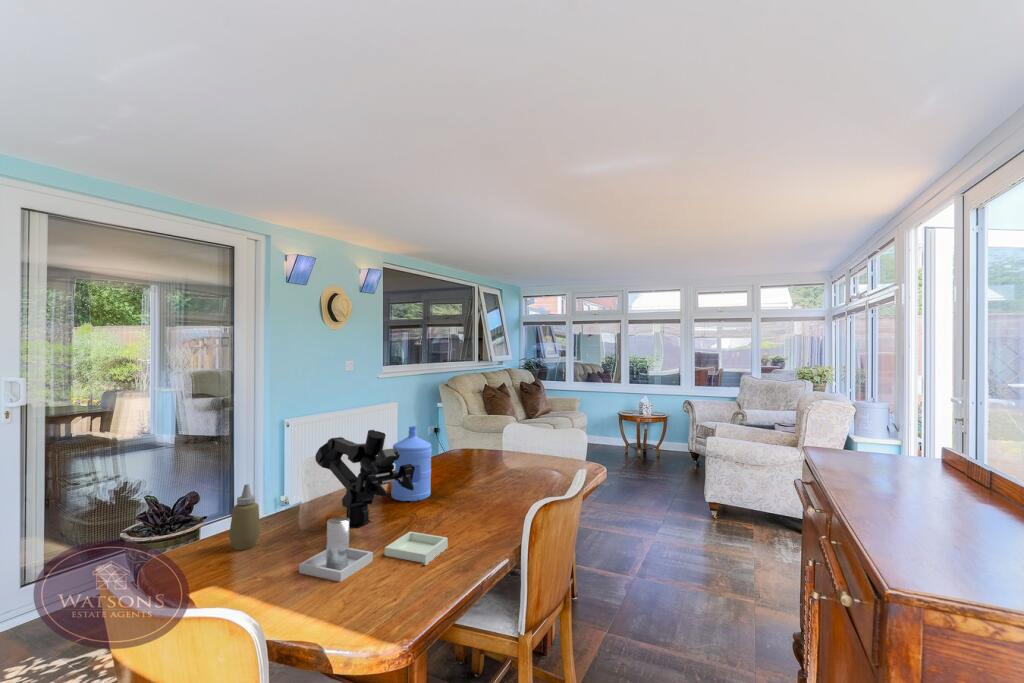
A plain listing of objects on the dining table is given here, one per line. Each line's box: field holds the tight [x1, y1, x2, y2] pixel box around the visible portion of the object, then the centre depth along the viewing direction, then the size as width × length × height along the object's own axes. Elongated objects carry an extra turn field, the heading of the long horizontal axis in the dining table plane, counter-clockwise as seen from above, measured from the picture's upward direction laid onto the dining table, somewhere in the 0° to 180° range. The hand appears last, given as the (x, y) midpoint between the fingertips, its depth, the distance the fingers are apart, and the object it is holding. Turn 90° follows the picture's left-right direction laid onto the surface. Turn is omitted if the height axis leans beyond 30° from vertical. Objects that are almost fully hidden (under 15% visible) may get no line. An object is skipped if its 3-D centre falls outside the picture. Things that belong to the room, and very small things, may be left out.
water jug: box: [390, 425, 433, 502], centre depth 191 cm, size 16×16×28 cm
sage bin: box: [384, 531, 449, 566], centre depth 136 cm, size 13×13×3 cm
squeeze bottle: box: [228, 483, 261, 551], centre depth 138 cm, size 8×8×18 cm
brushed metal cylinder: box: [325, 516, 351, 570], centre depth 125 cm, size 6×6×12 cm
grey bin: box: [298, 547, 374, 582], centre depth 124 cm, size 13×13×3 cm
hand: (399, 492), depth 141 cm, fingers open, 9 cm apart
